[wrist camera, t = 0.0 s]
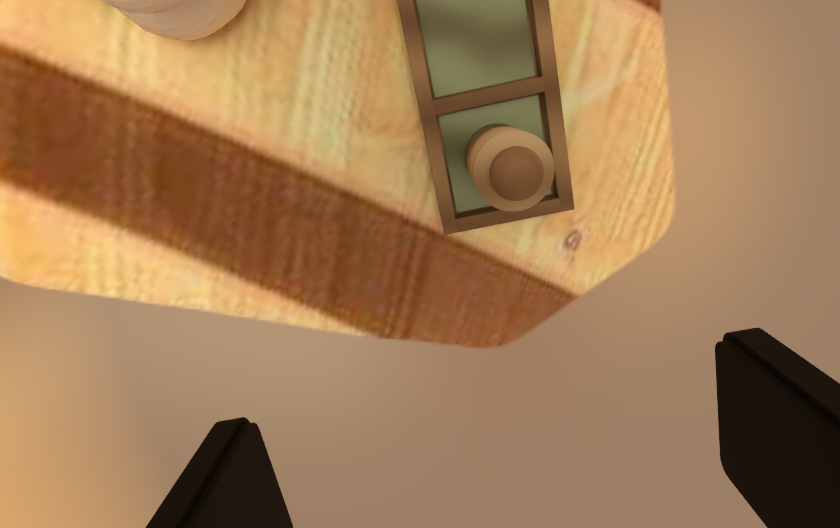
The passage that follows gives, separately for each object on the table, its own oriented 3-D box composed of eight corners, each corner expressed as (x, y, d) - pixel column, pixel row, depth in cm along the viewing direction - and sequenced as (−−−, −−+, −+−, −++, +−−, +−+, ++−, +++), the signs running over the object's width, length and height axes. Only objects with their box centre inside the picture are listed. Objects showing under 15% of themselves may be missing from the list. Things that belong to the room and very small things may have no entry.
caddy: (393, -24, 36) (390, -32, 34) (532, -57, 35) (539, -68, 33) (443, 227, 41) (444, 234, 39) (566, 202, 40) (574, 209, 38)
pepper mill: (459, 130, 38) (470, 143, 27) (522, 117, 38) (558, 124, 27) (470, 192, 40) (485, 227, 29) (531, 179, 39) (569, 210, 28)
